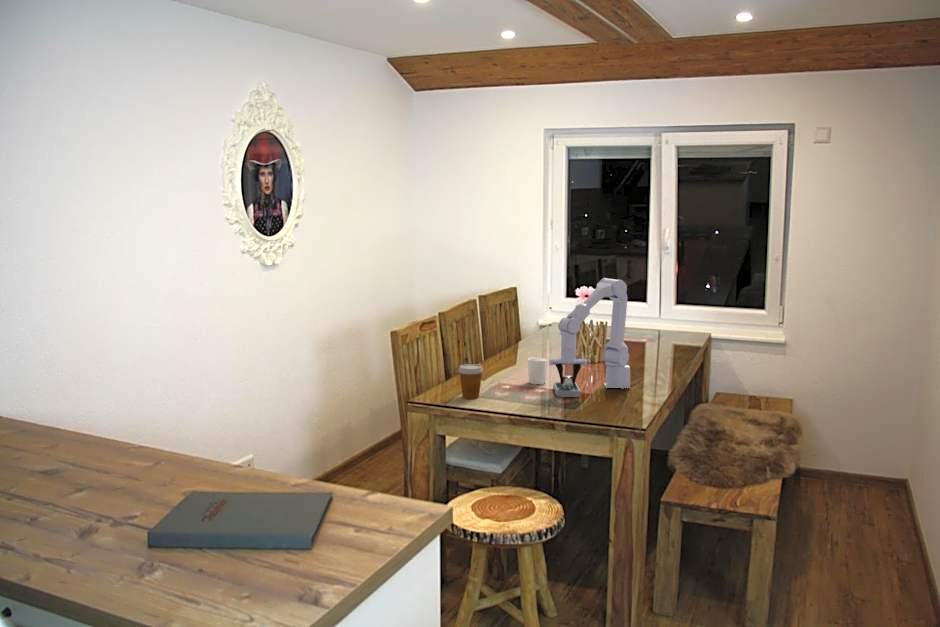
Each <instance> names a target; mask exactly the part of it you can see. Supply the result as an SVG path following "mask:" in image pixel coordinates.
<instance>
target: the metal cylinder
mask: <svg viewBox="0 0 940 627" xmlns="http://www.w3.org/2000/svg"><path fill="white" fill-rule="evenodd" d="M562 389H563V390H567V391H569V390H573V375H571V376H563V385H562Z"/></svg>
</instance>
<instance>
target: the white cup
mask: <svg viewBox="0 0 940 627" xmlns="http://www.w3.org/2000/svg"><path fill="white" fill-rule="evenodd" d="M547 365H548V359H547V358H546V357H541V356H533V357H529V358H527V371H528V373H527V374H528V383H529V384H530V383H532V384H531V385H536V384H540V385H544V383H545V384H546V379H547V378H546V376H547V369H548V366H547Z"/></svg>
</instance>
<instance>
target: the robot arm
mask: <svg viewBox="0 0 940 627" xmlns="http://www.w3.org/2000/svg"><path fill="white" fill-rule="evenodd" d="M627 288H628V285H627V283H625V281H624V280H622V279H614V278H608V277H603V278H602V279H600V280H599V282H597V284H596V287H595V289H594V290H593V291H592V292H591V293H590V295H589V296H588V298H587V299H586V300H585V301H584V303H578V304H576V305H575V307H574V309H573V310H572V311H570V313H568V314H567V316H566V317H563V318H562V319H560V320H559V324H557V327H558V330H559V331H560V332H559V335H560V337H561V338H560V358H552V359H551V358H550V359H549V360H548V365H549V366H553V365H554V366H555V367H556V369H557V372H558V376H559V380H560V381H561V384H563V375H564V366H572V376H573V384H575V382H576V380H577V376H578V375H579V372H580V370H581V368H582V367H581V366H588V360H587V359H584V358H581V359H580V358H577V355H576V354H577V333H578V332H579V330H580V328H581V325H582V323H583V322H584V321H585V320H586V319H587V318H588V317H589V316H590V314H591V309H593V308H594V306H596V304H598V303H599V302H600V301H601V300H602V299H603V298H609V299H610V301H612V309H611V310H612V313H611V324H610V336H609V341H607V342H606V343H605V344H604V349H603V352H602V359H603V361H604V362H605V365H606V369H605V370H606V371H605V373H606V374H605V382H603V385H604V387H605V388H606V389H607V388H621V389H622V390H623V389H624V388H625V389H626V388H627V389H628V388H630V389H631V367H630V365H628V362H629V360H630V354H629V347H628V346H627V345H626V343H625V331H626V318H627V311H628V310H627V308H628V294H627V293H628V292H627V291H628V290H627ZM560 381H559V382H560ZM627 389H626V390H627ZM628 390H629V389H628Z"/></svg>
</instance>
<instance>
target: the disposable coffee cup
mask: <svg viewBox="0 0 940 627" xmlns="http://www.w3.org/2000/svg"><path fill="white" fill-rule="evenodd" d="M458 372H459V379H460V380H459V381H460V387H461V395H462V399H465V398H466V399H465V400H475V398H476V399H478V397H479V398H480V392H481V391H480V390H481V384H482V383H481V382H482V375H483V372H484V369H483V365H480V364H476V363H475V364H474V363H467V364H466V363H465V364H461V365H459V368H458Z"/></svg>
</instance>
